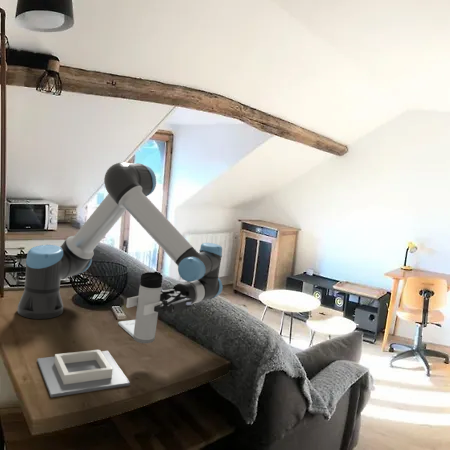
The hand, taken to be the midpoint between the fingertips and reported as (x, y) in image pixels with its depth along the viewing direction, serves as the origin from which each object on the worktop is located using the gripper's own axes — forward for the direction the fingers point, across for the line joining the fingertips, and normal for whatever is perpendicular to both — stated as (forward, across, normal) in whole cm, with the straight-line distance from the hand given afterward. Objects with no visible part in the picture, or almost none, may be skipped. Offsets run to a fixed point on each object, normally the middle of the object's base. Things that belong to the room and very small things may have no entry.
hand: (136, 306), depth 128 cm
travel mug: (-5, 0, -11) cm, 12 cm away
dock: (+12, +5, -18) cm, 23 cm away
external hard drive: (-21, +19, -19) cm, 34 cm away
